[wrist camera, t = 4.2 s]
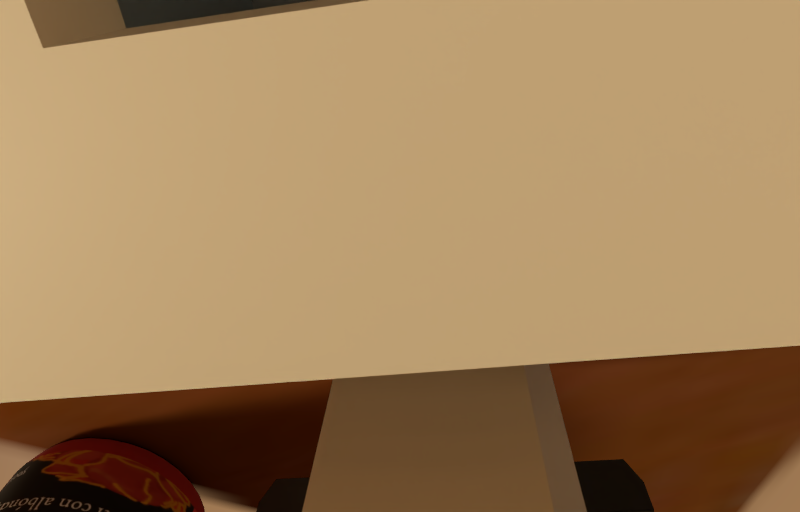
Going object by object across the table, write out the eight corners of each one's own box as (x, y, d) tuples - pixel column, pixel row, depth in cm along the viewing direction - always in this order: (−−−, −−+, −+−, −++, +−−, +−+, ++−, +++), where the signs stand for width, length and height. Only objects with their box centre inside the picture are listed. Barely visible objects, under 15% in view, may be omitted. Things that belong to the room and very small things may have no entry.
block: (362, 253, 13) (297, 533, 7) (497, 239, 13) (555, 521, 7) (405, 474, 16) (386, 796, 10) (513, 468, 16) (562, 798, 10)
